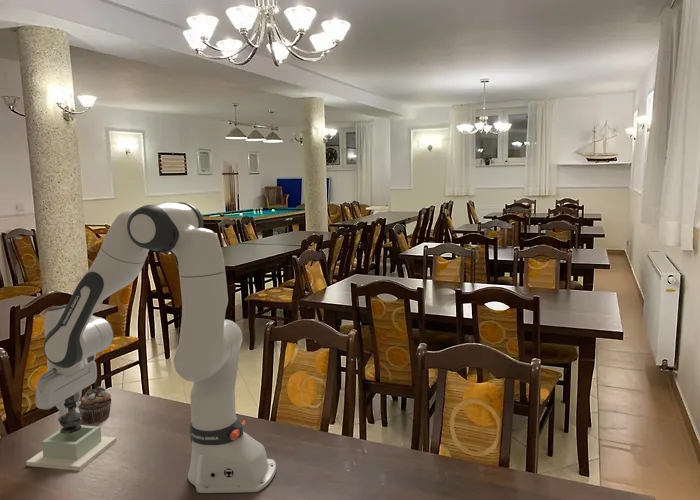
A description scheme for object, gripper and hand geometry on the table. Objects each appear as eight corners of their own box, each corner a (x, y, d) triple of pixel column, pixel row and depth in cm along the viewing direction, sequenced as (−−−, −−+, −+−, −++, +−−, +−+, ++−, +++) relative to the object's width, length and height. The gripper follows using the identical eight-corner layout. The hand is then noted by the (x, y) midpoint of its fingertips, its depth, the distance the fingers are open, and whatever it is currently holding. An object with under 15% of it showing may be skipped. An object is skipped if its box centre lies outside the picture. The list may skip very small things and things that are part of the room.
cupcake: (101, 409, 178) (99, 380, 177) (118, 416, 173) (116, 386, 171) (73, 419, 171) (70, 389, 169) (89, 427, 165) (86, 396, 164)
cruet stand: (116, 441, 156) (115, 423, 155) (79, 470, 141) (78, 450, 140) (67, 437, 159) (66, 419, 158) (26, 465, 143) (24, 445, 143)
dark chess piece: (72, 435, 145) (69, 393, 144) (53, 433, 147) (50, 391, 145) (87, 425, 151) (84, 384, 150) (69, 423, 152) (65, 383, 151)
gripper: (48, 377, 136) (52, 428, 137) (99, 351, 156) (102, 396, 157) (26, 375, 137) (31, 427, 139) (80, 350, 157) (83, 395, 159)
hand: (69, 410), depth 148 cm, fingers closed on dark chess piece, 3 cm apart
